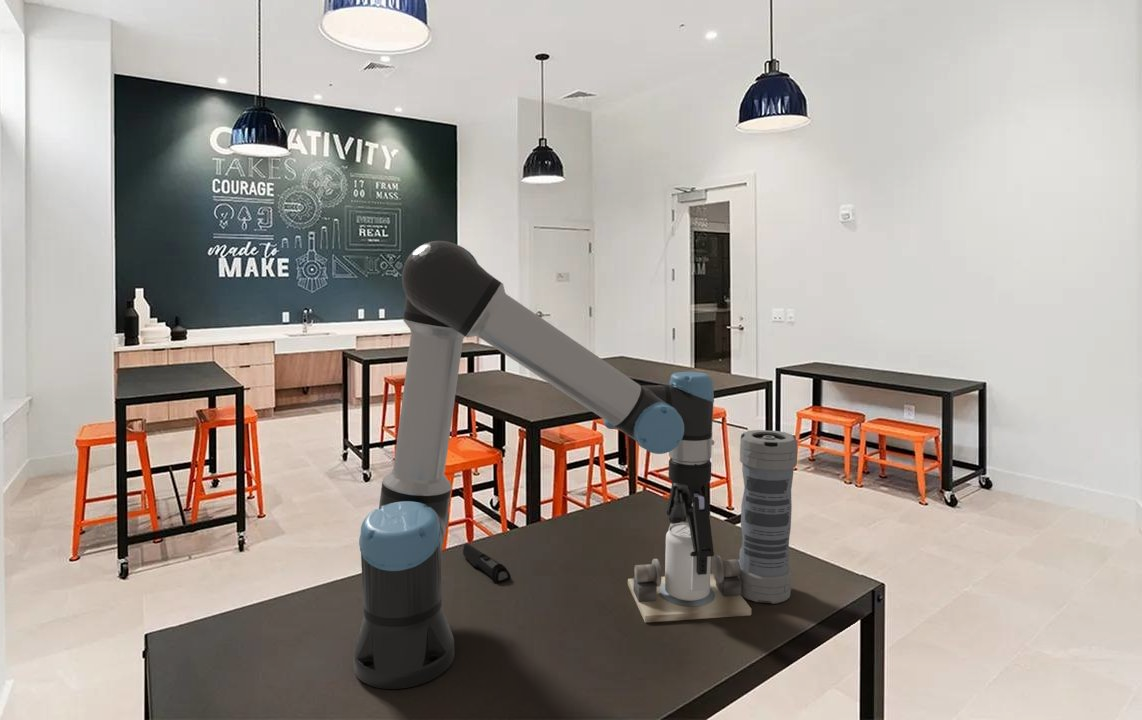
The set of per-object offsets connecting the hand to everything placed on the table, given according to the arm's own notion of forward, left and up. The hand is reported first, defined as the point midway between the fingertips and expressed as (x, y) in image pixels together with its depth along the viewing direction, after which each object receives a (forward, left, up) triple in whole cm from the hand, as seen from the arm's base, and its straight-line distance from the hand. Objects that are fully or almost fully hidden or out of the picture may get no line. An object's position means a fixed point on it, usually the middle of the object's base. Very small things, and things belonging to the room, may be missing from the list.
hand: (687, 572), depth 122 cm
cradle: (0, 0, -5) cm, 5 cm away
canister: (+15, +1, -5) cm, 16 cm away
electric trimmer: (-37, +18, -6) cm, 41 cm away
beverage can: (0, 0, -4) cm, 4 cm away
